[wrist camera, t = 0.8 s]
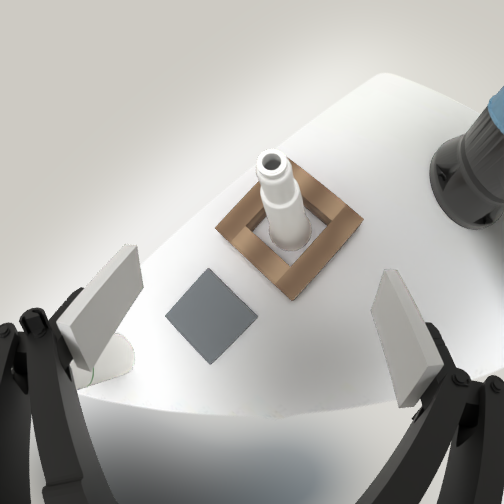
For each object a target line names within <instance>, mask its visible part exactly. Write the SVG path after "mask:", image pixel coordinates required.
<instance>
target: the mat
mask: <svg viewBox="0 0 504 504" xmlns="http://www.w3.org/2000/svg"><path fill="white" fill-rule="evenodd" d="M165 317H166V318H167V319H168V320H169V321H170V322H171V323H172V325H173V326H174V327H175V328H176V329H177V330H178V331H179V332H180V333H181V335H182V336H183V337H184V338H185V339H186V340H187V341H188V342H189V343H190V344H191V345H192V346H193V347H194V348H195V350H196V351H197V352H198V353H199V354H200V355H201V356H202V357H203V358H204V359H205V360H206V361H207V362H208V363H209V364H212V363H213V362H214V361H215V360H216V359H217V358H218V357H219V356H220V355H221V354H222V353H223V352H224V351H225V350H226V349H227V348H228V347H229V346H230V345H231V344H232V343H233V342H234V341H235V340H236V339H237V338H238V337H239V336H240V335H241V334H242V333H243V332H244V331H245V330H246V329H247V328H248V327H249V326H250V325H251V324H252V322H253V321H254V320H255V319H256V318H257V317H258V316H257V315H256V314H255V313H254V312H253V311H252V310H251V309H250V308H249V307H248V306H247V305H246V304H245V303H243V302H242V301H241V300H240V299H239V298H238V297H237V296H236V295H235V294H234V293H233V292H232V291H231V290H230V289H229V288H228V287H227V286H226V285H225V284H224V283H223V282H222V281H221V280H220V279H219V278H218V277H217V276H216V275H215V274H214V273H213V272H212V271H211V270H210V269H209V268H207V270H206V271H205V272H204V273H203V274H202V275H201V276H200V277H199V278H198V280H197V281H196V282H195V283H194V284H193V285H192V286H191V287H190V288H189V290H188V291H187V292H186V293H185V294H184V295H183V296H182V297H181V298H180V300H179V301H178V302H177V303H176V304H175V305H174V306H173V307H172V309H171V310H170V311H169V312H168V313H167V314H166V315H165Z"/></svg>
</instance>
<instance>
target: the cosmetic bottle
mask: <svg viewBox="0 0 504 504" xmlns="http://www.w3.org/2000/svg"><path fill="white" fill-rule="evenodd" d="M256 175H257V177H258V180H259V182H260V184H261V188H260V195H261V199H262V202H263V206H264V209H265V212H266V215H267V218H268V221H269V225H270V226H269V234H270V238H271V240H272V242H273V243H274V244H275V245H276V246H277V247H279V248H280V249H282V250H286V251H294V250H298V249H300V248H302V247H303V246H304V245H306V243H307V242H308V241H309V239H310V236H311V232H312V228H311V223H310V221H309V219H308V218H307V216H306V214H305V210H304V205H303V200H302V196H301V192H300V188H299V185H298V183H297V181H296V180H295V179H294V178H293V172H292V165H291V163H290V161H289V159H288V158H287V157H286V156H285V154H284V153H283V152H281V151H280V150H277V149H268V150H265V151H263V152H262V153H261V154H260V155H259V157H258V159H257V165H256Z"/></svg>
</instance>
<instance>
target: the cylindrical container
mask: <svg viewBox="0 0 504 504" xmlns="http://www.w3.org/2000/svg"><path fill="white" fill-rule="evenodd" d="M134 362H135V354H134V350H133V347H132V345H131V344H130V342H129V341H128V340H127V339H126V338H125V337H124V336H122V335H120V334H113V336H112V337H111V339H110V341H109V342H108V344H107V346H106V347H105V349H104V350H103V352H102V354H101V355H100V357H99V359H98V361H97V362H96V364H95V366H94V367H93V369H92V371H91V372H89V371H86V370H83V369H80V368H77V366H76V364H75V362H74V360H72V361H71V363H70V364H69V365H70V367H71V369H72V373H73V377H74V382H75V386H76V390H79V389H82V388H85V387H88V386H91V385H95V384H98V383H101V382H104V381H107V380H110V379H112V378H115V377H118V376H121V375H124V374H127V373H129V372H130V371H131V370H132V368H133V366H134Z"/></svg>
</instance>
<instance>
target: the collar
mask: <svg viewBox="0 0 504 504" xmlns="http://www.w3.org/2000/svg"><path fill="white" fill-rule="evenodd" d="M288 159H289V158H288ZM289 161H290V163H291V165H292V172H293V178H294V179H295V180H296V181H297V183H298V185H299V188H300V192H301V196H302V200H303V205H304V206H305V207H306V208H307V209H308V210H310V211H311V212H312V213H313V214H314V215H315V216H317V217H318V218H319V219H320V220H321V221H322V222H324V223H325V224H326V225H327V227H326V228H325V229H324V230H323V232H322V233H321V234H320V235H319V236H318V237H317V238H316V239H315V241H314V242H313V243H312V244H311V245H310V246H309V247H308V248H307V249H306V251H305V252H304V253H303V254H302V255H301V256H300V257H299V258H298V259H297V260H296V262H295V263H294V264H293V265H292V266H291V267H290V266H289V265H288V264H287V263H286V262H285V261H284V260H282V259H281V258H280V257H279V256H278V255H277V254H276V253H275V252H274V251H273V250H271V249H270V248H269V247H268V246H267V245H266V244H265V243H264V242H263V241H262V240H260V239H259V238H258V237H257V236H256V235H255V234H254V233H253V232H252V231H253V230H254V229H255V228H256V227H257V226H258V225H259V223H260V222H261V221H262V220H263V219H264V218H265V217H266V216H267V215H266V212H265V209H264V206H263V202H262V199H261V195H260V188H261V184H260V182H259V181H258V182H257V183H256V184H255V186H254V187H253V188H252V189H251V190H250V191H249V192H248V193H247V194H246V195H245V196H244V197H243V198H242V199H241V200H240V201H239V202H238V204H237V205H236V206H235V207H234V208H233V209H232V210H231V211H230V212H229V213H228V214H227V215H226V216H225V217H224V219H223V220H222V221H221V222H220V223H219V224H218V225H217V226H216V227H215V229H216V230H217V231H218V232H219V233H220V234H221V235H222V236H223V237H224V238H225V239H226V240H228V241H229V242H230V243H231V244H232V245H233V246H234V247H235V248H236V249H237V250H238V251H239V252H240V253H241V254H242V255H243V256H244V257H246V258H247V259H248V260H249V261H250V262H251V263H252V264H253V265H254V266H255V267H256V268H257V269H258V270H259V271H260V272H262V273H263V274H264V275H265V276H266V277H267V278H268V279H269V280H270V281H271V282H272V283H273V284H274V285H275V286H276V287H278V288H279V289H280V290H281V291H282V292H283V293H284V294H285V295H286V296H287V297H288V298H289V299H290V300H291V301H293V300H294V299H295V298H296V297H297V296H298V295H299V294H300V293H301V292H302V290H303V289H304V288H305V287H306V286H307V285H308V284H309V283H310V282H311V281H312V280H313V278H314V277H315V276H316V275H317V274H318V273H319V272H320V271H321V270H322V268H323V267H324V266H325V265H326V264H327V263H328V262H329V261H330V259H331V258H332V257H333V256H334V255H335V254H336V253H337V251H338V250H339V249H340V248H341V247H342V246H343V245H344V243H345V242H346V241H347V240H348V239H349V238H350V236H351V235H352V234H353V233H354V232H355V230H356V229H357V228H358V227H359V226H360V224H361V223H362V221H363V220H364V219H363V218H362V217H361V216H359V215H358V214H357V213H356V212H355V211H354V210H353V209H351V208H350V207H349V206H348V205H347V204H345V203H344V202H343V201H342V200H341V199H340V198H338V197H337V196H336V195H335V194H333V193H332V192H331V191H330V190H329V189H327V188H326V187H325V186H324V185H322V184H321V183H320V182H319V181H317V180H316V179H315V178H314V177H312V176H311V175H310V174H308V173H307V172H306V171H305V170H303V169H302V168H301V167H299V166H298V165H297V164H295V163H294V162H293V161H291V160H290V159H289Z"/></svg>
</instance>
